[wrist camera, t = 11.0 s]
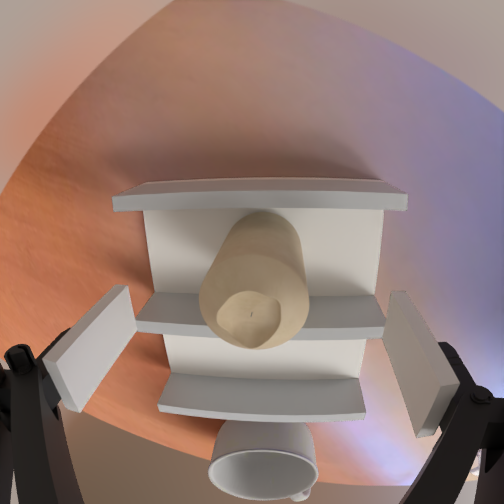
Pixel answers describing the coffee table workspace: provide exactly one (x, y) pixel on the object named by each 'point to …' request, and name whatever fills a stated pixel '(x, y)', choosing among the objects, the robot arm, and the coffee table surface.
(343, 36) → the coffee table surface
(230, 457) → the teacup
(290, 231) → the candle
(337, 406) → the slot rack
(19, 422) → the robot arm
